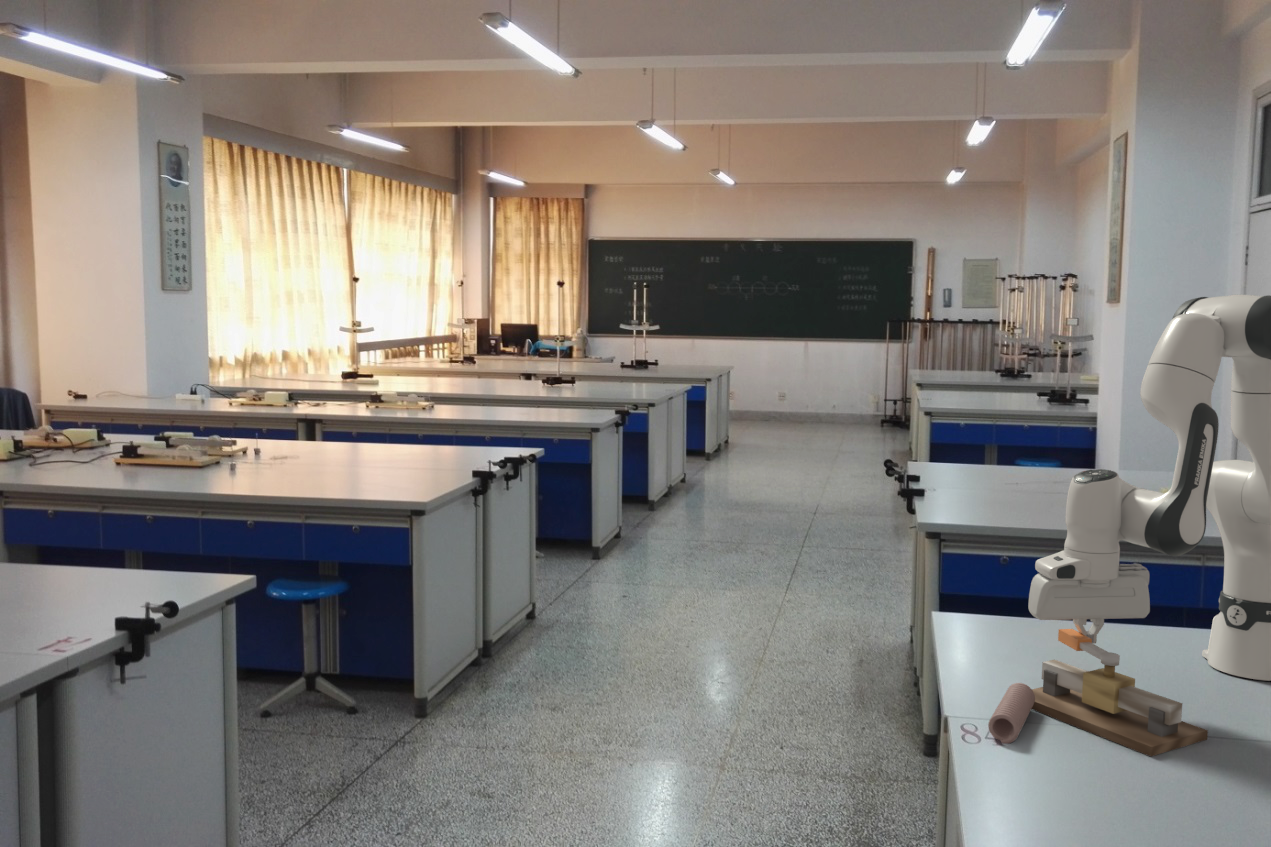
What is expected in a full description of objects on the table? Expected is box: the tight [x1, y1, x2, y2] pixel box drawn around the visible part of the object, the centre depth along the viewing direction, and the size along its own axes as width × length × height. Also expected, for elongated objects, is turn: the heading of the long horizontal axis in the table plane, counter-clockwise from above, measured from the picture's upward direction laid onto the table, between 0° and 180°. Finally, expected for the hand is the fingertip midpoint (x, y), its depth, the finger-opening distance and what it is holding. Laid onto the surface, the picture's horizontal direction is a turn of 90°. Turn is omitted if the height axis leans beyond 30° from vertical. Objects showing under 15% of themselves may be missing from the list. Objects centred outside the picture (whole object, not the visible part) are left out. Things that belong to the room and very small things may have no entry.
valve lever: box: [1057, 628, 1121, 667], centre depth 186 cm, size 15×3×2 cm, turn 9°
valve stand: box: [1031, 659, 1209, 757], centre depth 181 cm, size 14×26×9 cm, turn 30°
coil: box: [987, 682, 1035, 745], centre depth 179 cm, size 5×5×18 cm
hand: (1087, 642), depth 191 cm, fingers closed
